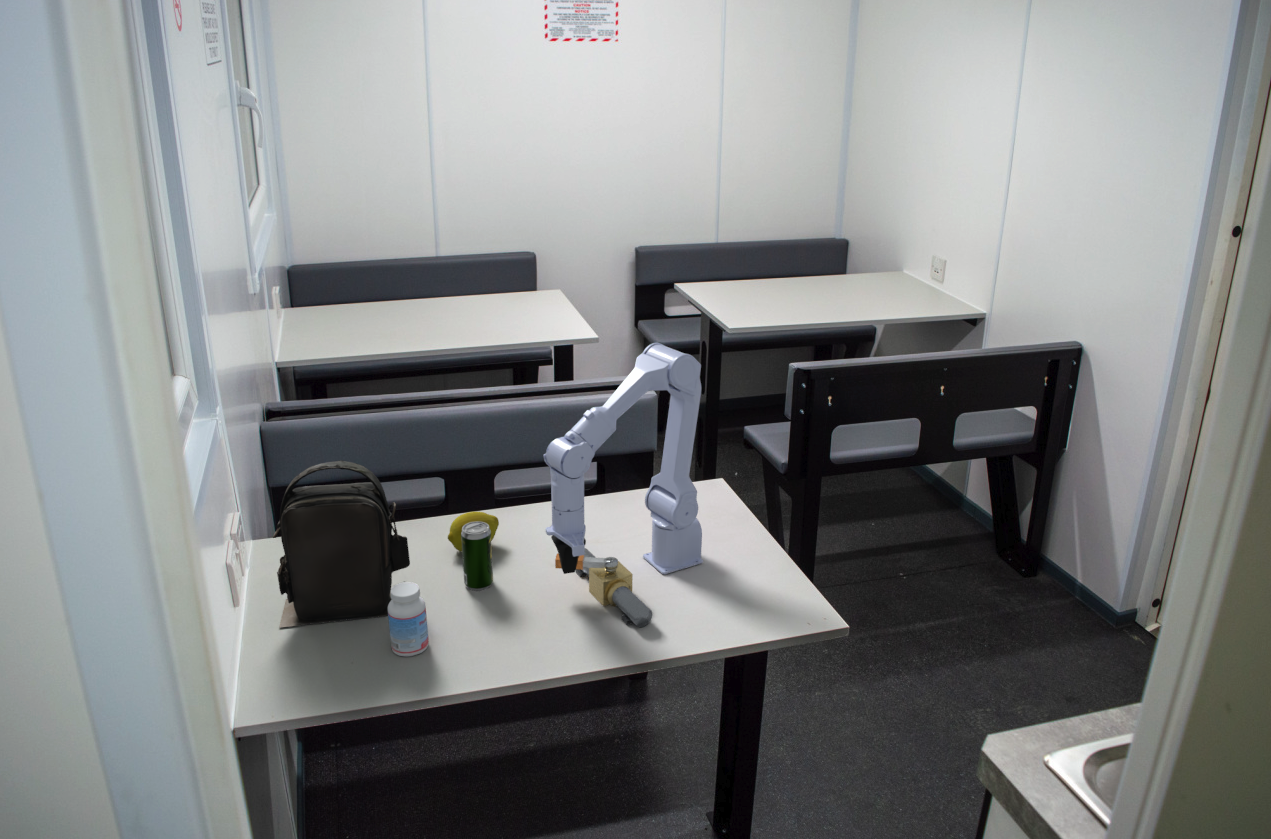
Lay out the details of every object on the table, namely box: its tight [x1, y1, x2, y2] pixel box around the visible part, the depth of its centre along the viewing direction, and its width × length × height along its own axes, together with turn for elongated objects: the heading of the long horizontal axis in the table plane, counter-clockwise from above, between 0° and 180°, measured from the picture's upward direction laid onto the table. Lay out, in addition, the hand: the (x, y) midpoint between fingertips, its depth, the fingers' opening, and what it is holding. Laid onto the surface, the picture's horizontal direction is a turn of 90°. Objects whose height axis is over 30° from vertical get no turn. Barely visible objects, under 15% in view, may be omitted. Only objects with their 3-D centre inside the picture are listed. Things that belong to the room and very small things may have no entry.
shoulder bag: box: [272, 460, 411, 629], centre depth 155 cm, size 23×9×28 cm, turn 103°
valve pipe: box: [575, 547, 654, 628], centre depth 164 cm, size 6×24×5 cm, turn 30°
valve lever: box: [554, 553, 619, 573], centre depth 163 cm, size 11×3×2 cm, turn 86°
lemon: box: [447, 511, 500, 553], centre depth 179 cm, size 11×8×8 cm
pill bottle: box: [387, 581, 430, 657], centre depth 147 cm, size 6×6×11 cm
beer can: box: [461, 521, 494, 592], centre depth 166 cm, size 5×5×12 cm
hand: (568, 572), depth 162 cm, fingers closed
